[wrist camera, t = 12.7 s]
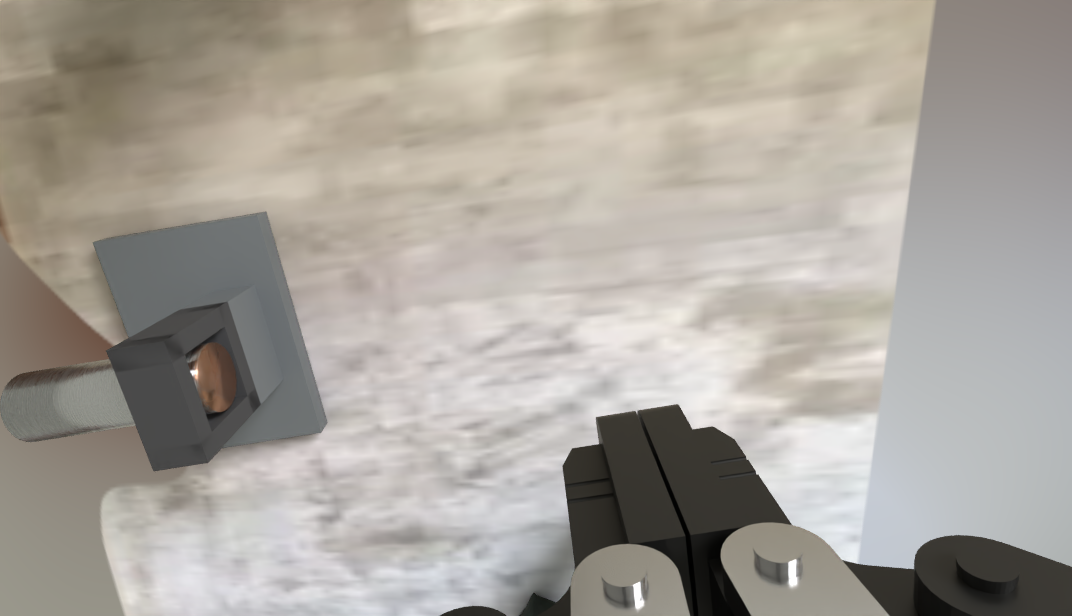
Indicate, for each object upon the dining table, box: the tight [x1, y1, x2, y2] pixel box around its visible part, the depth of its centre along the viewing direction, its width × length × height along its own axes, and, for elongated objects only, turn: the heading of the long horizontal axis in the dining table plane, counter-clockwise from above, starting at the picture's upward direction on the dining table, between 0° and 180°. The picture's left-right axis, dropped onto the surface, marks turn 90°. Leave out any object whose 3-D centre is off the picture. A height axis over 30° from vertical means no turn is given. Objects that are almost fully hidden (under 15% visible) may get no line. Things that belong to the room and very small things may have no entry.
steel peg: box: [0, 342, 237, 442], centre depth 35 cm, size 4×11×4 cm, turn 99°
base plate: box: [93, 212, 327, 448], centre depth 41 cm, size 16×11×6 cm
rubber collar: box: [106, 302, 261, 471], centre depth 35 cm, size 7×3×7 cm, turn 9°
